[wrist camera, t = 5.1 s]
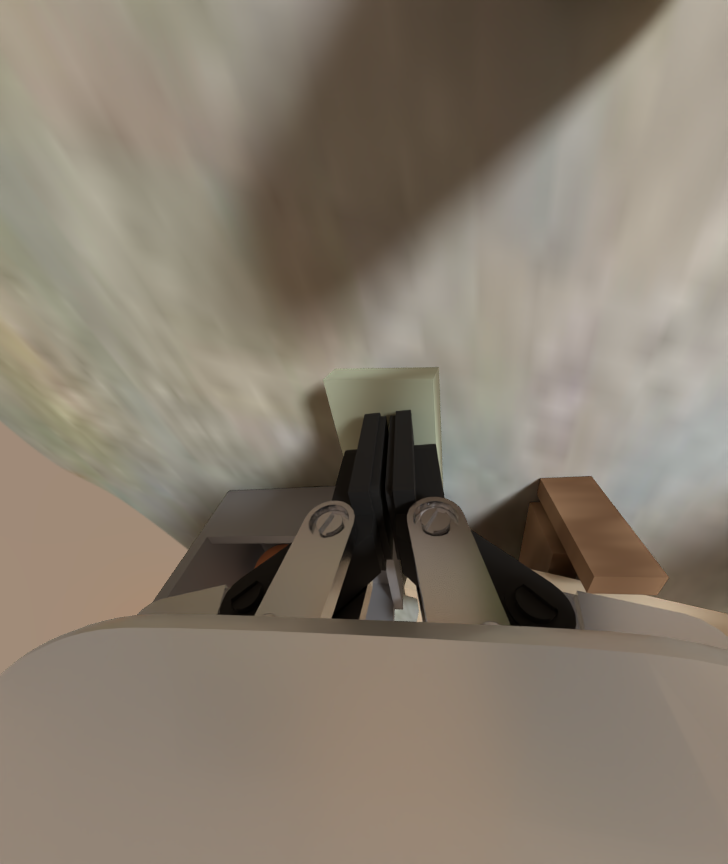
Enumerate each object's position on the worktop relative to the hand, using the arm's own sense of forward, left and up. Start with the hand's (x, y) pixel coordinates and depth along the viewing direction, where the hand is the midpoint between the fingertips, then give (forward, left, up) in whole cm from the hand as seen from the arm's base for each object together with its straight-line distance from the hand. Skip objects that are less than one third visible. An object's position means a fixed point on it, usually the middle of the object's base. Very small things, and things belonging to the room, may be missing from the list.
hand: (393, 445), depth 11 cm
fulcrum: (-8, +10, -4) cm, 14 cm away
